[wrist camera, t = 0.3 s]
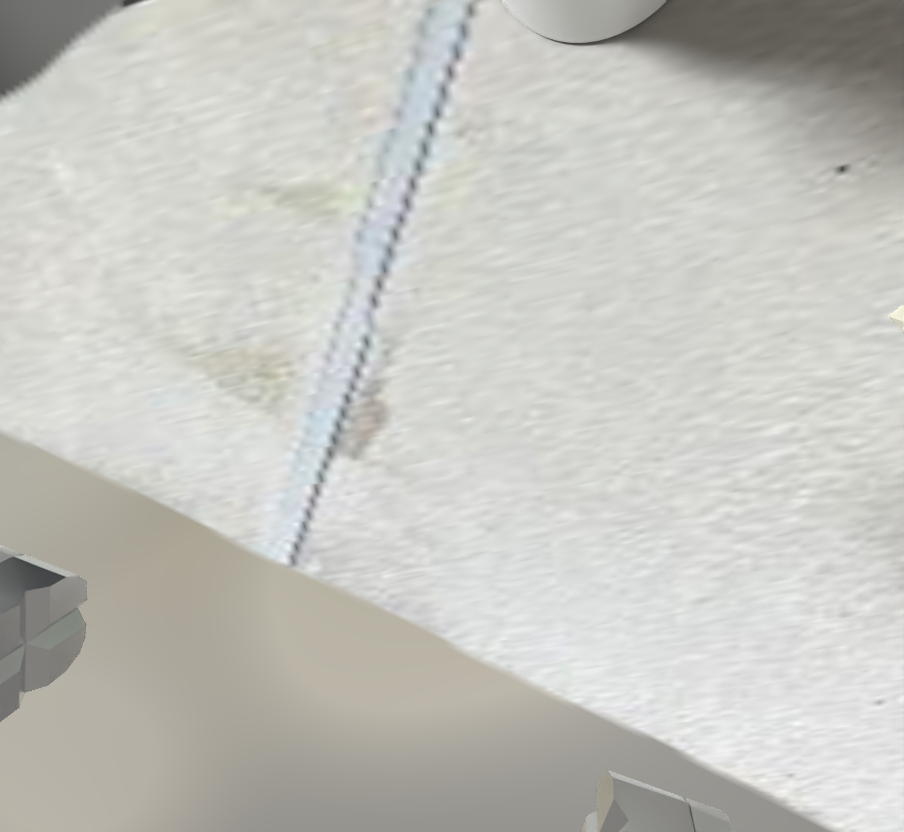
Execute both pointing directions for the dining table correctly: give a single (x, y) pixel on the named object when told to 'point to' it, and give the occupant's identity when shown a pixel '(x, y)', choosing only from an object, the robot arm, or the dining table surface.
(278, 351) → the dining table surface
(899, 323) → the pink and cream block
